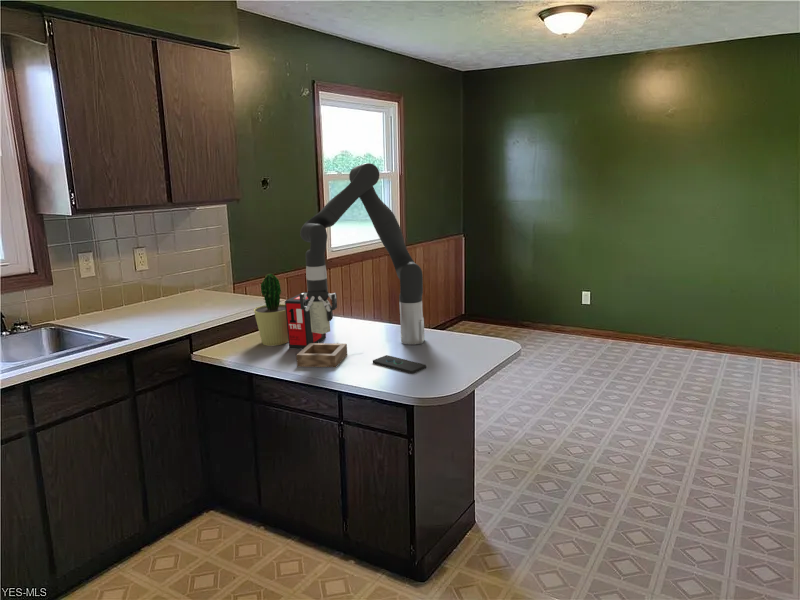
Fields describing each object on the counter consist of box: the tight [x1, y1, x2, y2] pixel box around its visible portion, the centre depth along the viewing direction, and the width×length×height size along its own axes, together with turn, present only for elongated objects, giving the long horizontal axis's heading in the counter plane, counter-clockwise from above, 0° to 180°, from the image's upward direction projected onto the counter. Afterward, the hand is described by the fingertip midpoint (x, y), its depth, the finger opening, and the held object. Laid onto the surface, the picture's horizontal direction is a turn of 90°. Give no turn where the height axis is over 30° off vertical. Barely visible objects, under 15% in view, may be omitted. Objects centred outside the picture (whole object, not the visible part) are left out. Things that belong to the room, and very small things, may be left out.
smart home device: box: [372, 355, 427, 375], centre depth 221 cm, size 8×2×20 cm
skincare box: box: [309, 299, 331, 334], centre depth 227 cm, size 6×4×12 cm
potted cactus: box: [253, 273, 289, 347], centre depth 255 cm, size 15×15×30 cm
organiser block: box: [295, 342, 348, 368], centre depth 230 cm, size 15×15×4 cm
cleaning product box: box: [284, 291, 327, 350], centre depth 252 cm, size 16×9×20 cm, turn 162°
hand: (319, 320), depth 227 cm, fingers closed on skincare box, 7 cm apart
